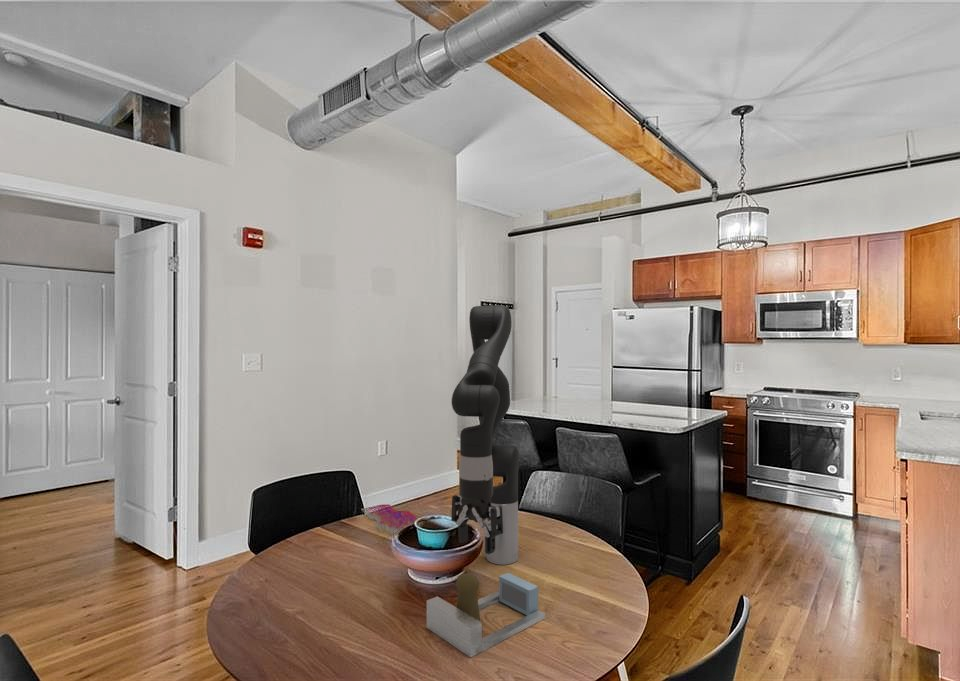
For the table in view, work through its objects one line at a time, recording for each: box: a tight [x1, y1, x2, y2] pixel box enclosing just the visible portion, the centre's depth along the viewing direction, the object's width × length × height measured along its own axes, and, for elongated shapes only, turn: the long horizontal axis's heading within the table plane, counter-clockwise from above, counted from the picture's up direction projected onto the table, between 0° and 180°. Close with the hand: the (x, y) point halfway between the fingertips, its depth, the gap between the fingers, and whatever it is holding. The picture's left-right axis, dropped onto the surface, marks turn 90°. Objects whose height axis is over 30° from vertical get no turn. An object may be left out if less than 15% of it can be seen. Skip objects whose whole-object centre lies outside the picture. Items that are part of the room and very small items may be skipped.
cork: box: [455, 572, 481, 622], centre depth 118 cm, size 6×6×11 cm
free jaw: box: [498, 572, 539, 616], centre depth 126 cm, size 10×3×6 cm, turn 42°
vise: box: [426, 590, 546, 659], centre depth 119 cm, size 15×22×6 cm, turn 132°
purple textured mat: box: [360, 504, 418, 536], centre depth 185 cm, size 30×15×5 cm, turn 28°
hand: (476, 547), depth 117 cm, fingers open, 8 cm apart
